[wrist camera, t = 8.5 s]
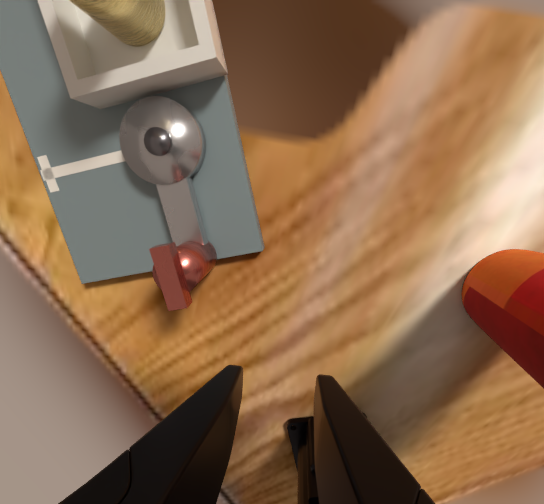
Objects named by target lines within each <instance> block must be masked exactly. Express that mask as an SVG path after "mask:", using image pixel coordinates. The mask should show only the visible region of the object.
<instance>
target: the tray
mask: <svg viewBox="0 0 544 504" xmlns="http://www.w3.org/2000/svg"><path fill="white" fill-rule="evenodd" d="M164 2H165V20H164V24H163V27H162V29H161V32H160V33H159V35H158V36H157V37H156V38H155V39H154V40H153V41H152V42H150V43H149V44H147V45H144V46H139V47H134V46H129V45H127V44H125V43H123V42H121V41H120V40H119V39H117V38H116V37H115V36H114V35H112V34H111V33H110V32H109V31H107V30H106V29H105V28H103V27H102V26H101V25H100V24H98V23H97V22H96V21H95V20H93V19H92V18H91V17H90V16H88V15H87V14H86V13H84V12H83V11H82V10H81V9H79V8H78V7H77V6H76V5H74V4H73V3H72V2H71V1H69V0H38V3H39V6H40V9H41V12H42V15H43V18H44V21H45V24H46V27H47V30H48V33H49V36H50V39H51V42H52V45H53V48H54V51H55V54H56V57H57V60H58V63H59V66H60V69H61V72H62V75H63V77H64V80H65V83H66V86H67V89H68V92H69V95H70V98H71V99H74V100H77V101H79V102H82V103H85V104H88V105H91V106H93V107H96V108H99V109H103V108H107V107H111V106H114V105H118V104H122V103H125V102H129V101H133V100H136V99H140V98H144V97H147V96H151V95H155V94H158V93H162V92H166V91H169V90H173V89H177V88H180V87H184V86H188V85H191V84H195V83H199V82H202V81H206V80H210V79H213V78H217V77H221V76H225V75H228V71H227V67H226V62H225V58H224V53H223V48H222V44H221V40H220V35H219V30H218V25H217V21H216V16H215V12H214V7H213V3H212V0H164Z"/></svg>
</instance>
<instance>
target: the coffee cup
mask: <svg viewBox="0 0 544 504" xmlns="http://www.w3.org/2000/svg"><path fill="white" fill-rule="evenodd" d="M462 302H463V305H464V308H465V310H466V312H467V313H468V315H469V316H470V317H471V318H472V319H473V320H474V322H475V323H476V324H477V325H478V326H479V327H480V328H481V329H482V330H483V331H484V332H485V333H486V334H487V335H488V336H489V337H490V338H491V339H493V340H494V341H495V342H496V343H497V344H498V345H499V346H500V347H501V348H502V349H503V350H504V351H505V352H506V353H507V354H508V355H509V356H510V357H511V358H512V359H513V360H514V361H515V362H517V363H518V364H519V365H520V366H521V367H522V368H523V369H524V370H525V371H526V372H527V373H528V374H529V375H530V376H531V377H532V378H533V379H534V380H535V381H537V382H538V383H539V384H540V385H541V386H542V387H543V388H544V253H539V252H534V251H528V250H520V249H510V250H503V251H499V252H496V253H494V254H491V255H489V256H487V257H486V258H484V259H482V260H481V261H480V262H478V263H477V264H476V265H475V266H474V267H473V268H472V270H471V271H470V272H469V274H468V275H467V277H466V279H465V281H464V284H463V288H462Z"/></svg>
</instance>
